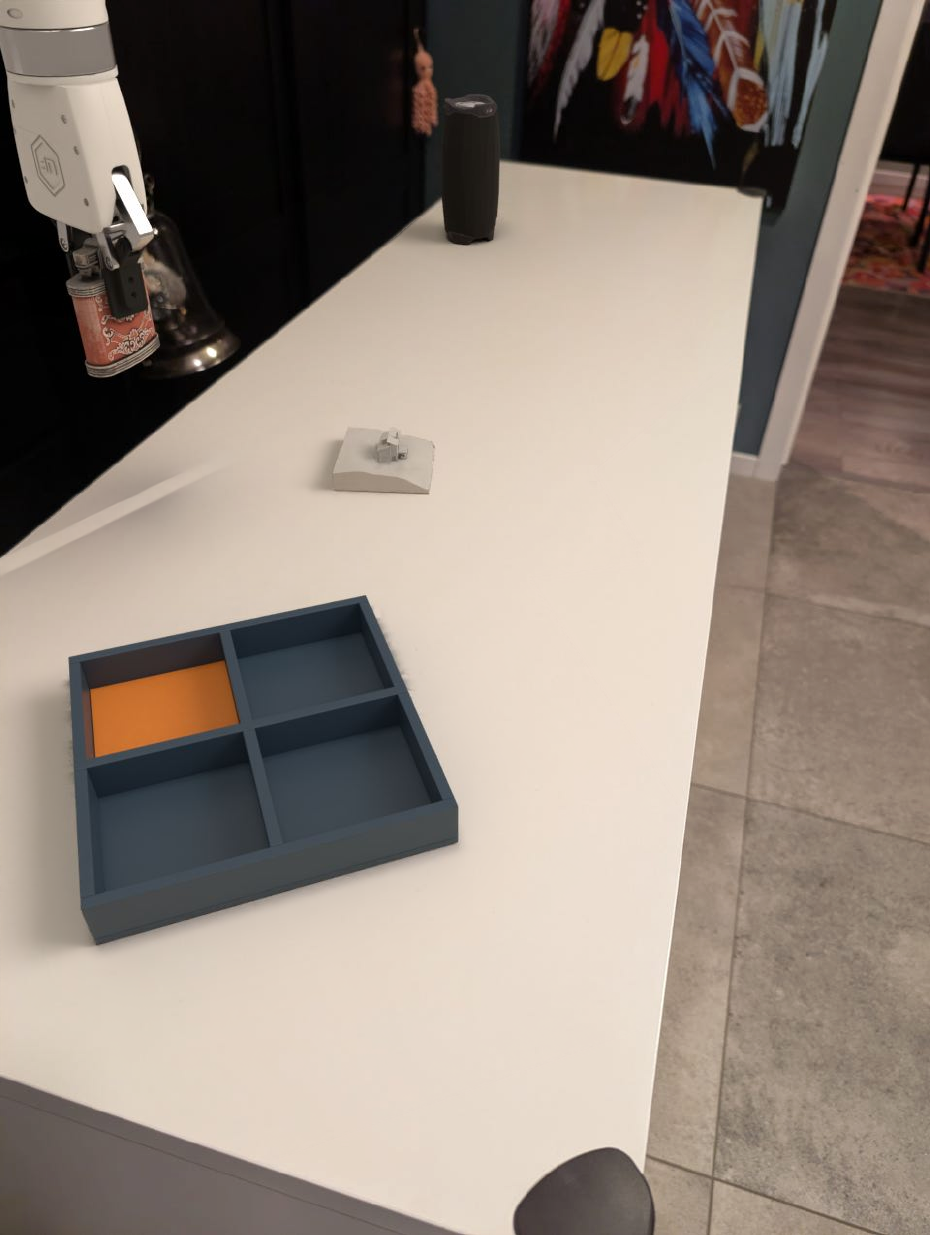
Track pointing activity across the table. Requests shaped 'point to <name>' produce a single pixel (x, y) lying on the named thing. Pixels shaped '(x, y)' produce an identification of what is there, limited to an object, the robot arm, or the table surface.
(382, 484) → the miniature house
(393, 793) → the tray
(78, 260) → the lighter
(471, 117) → the portable speaker
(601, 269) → the table surface
